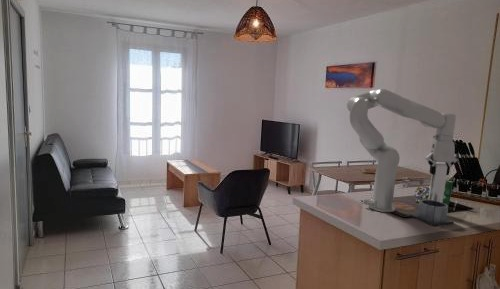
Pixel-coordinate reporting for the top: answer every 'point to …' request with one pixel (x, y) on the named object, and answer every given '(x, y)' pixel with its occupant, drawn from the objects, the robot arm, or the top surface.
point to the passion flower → (421, 193)
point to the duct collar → (432, 213)
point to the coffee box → (447, 192)
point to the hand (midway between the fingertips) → (439, 174)
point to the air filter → (438, 182)
